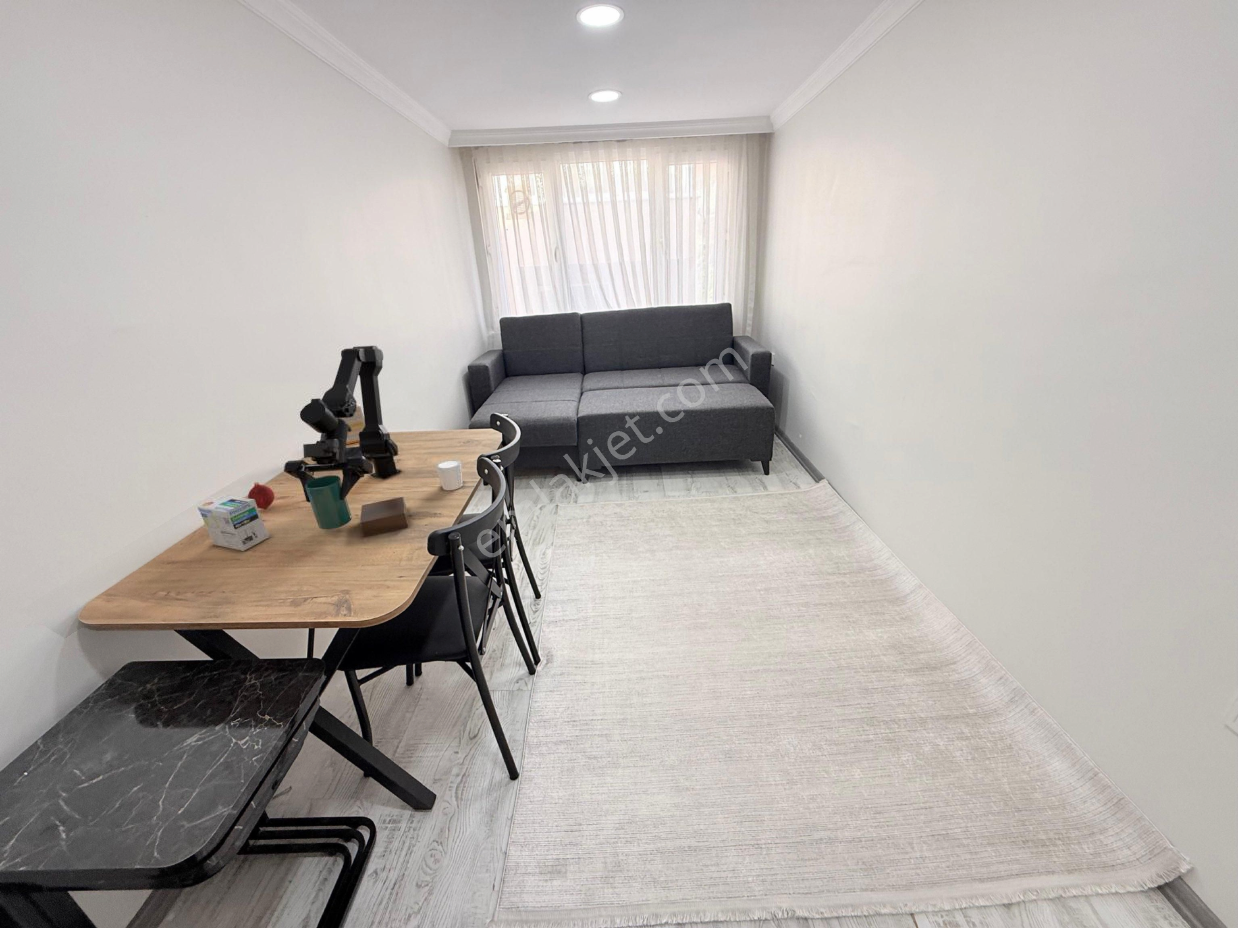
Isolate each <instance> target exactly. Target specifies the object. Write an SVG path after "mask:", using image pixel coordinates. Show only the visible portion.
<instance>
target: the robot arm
mask: <svg viewBox="0 0 1238 928" xmlns="http://www.w3.org/2000/svg"><path fill="white" fill-rule="evenodd" d="M340 357H341V359H340V361H339V365H338V368H337V372H336V375H335V378H334V382H333V385H332V387H331V388H328V389H327V390H326V391H325V392H324V394H323V396H322V398H319V397H318V398H311V399H310V402H309V403H307V404H306V405H305V406H303V408H302V409H301V410H300V412H299V418H300V420H301V422H304V423H305V424H306V425H307V426H309V427H310V428H311V429H312V430H313V431H315V432H316V433H319V434H320V438H319V440H316V442H315V443H304V444H302V448H303V449H302V451H303V458H304V459H307V458H310V460H311V461H312V462H314V463H311V464H310V463H308V462H307V461H305V460H304V459H296V460H287V461H286V462H285V463H284V467H283V472H284V473H286V474H288V475H290V476H291V477H293V478H295V479H298V480H299V481H300V483H301V486H302V490H303V494H304V498H305V501H306V502H307V503H310V500H309V497H308V494H307V491H306V488H305V485H306V483H307V482H309V481H311V480H313V479H315V478H316V477H314V475H315V473H321V472H337V471H341V473H342V479H341V482H342V486H341V492H340V499H341V500H344V499H345V498H346V499H347V496H348V495H349V493H351V490H352V489H353V488H354V486H355V485H356V484H357V483H358V482H359V480H360V479H362V478H365V475H370V476H371V477H373V478H377V479H381V480H386V479H389V478H391V477H393V476H396V475H398V474H401V472H402V470H401V469H398V468H397V466H396V465H397V464H396V462H395V459H394V458H395V457H397V456H399V448H398V447H399V446H398V445H397V444H396V442H394V440H393V439H391V434H390V431H388V429H387V428H386V427H385V426H384V423H383V413H382V405H381V394H380V386H379V375H380V373H381V371H382V369H383V367H384V366H383V365H384V364H383V361H384V353H383V350H382V349H381V348H379V347H378V346H377V345H360V346H359V345H358V346H353V347H352V348H351V347H349V348H344V349H342V350H341V351H340ZM358 377H359V384H360V393H361V402H362V403H361V404H362V413H363V416H364V421H365V426H364V428H363V430H362V431H360V432H359V439H360V442H358V446H359V448H360V450H361V452H362V454H363V456H364V457H363V456H355V457H348V458H347V460H346V462H344V457H345V453H346V452H348V448H349V447H347V444H346V441H347V433H348V432H351V431H352V430H351V427H350V426H349V425H348V423H347V422H345V421H344V420H342V419H339V418H350V417H353V416H354V414H355V412H356V408H357V405H356V404H358V403H357V400H356V397H355V396H354V393H355V389H356V385H357V382H358ZM367 459H372V460H367ZM315 462H316V463H315Z"/></svg>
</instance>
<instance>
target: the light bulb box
mask: <svg viewBox="0 0 1238 928" xmlns="http://www.w3.org/2000/svg"><path fill="white" fill-rule="evenodd" d="M196 508H197V509H198V512H199V514H200V516H201V518H202V521H203V523H204V525H205V527H206V531H207V532H208V534H209V536H210V538H211V542H212V543H213V545H214V546H220V547H222V548H223V547H224V548H227V549H232V550H237V551H242V552H245V551H246V550H249V549H250V548H252V547H254V546H256V545H257V544H259V543H261V542H263V541H265V540H267V539H268V538H270V535H269V533H268V530H267V528H266V526H265V523H264V520H263V518H262V515H261V512H260V509H259V508H258V507H257V505H256V502H255V499H249V498H248V497H240V496H233V495H228V494H223V495H221V496H218V497H215V498H212V499H211V500H209V501H206V502H204V503H201V504H199V505H197V507H196Z"/></svg>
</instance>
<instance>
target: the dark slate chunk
mask: <svg viewBox="0 0 1238 928" xmlns="http://www.w3.org/2000/svg"><path fill="white" fill-rule="evenodd" d="M347 448H348V452H346V453H345V457H344V462H346V460H347V458H348V457H355V456H363V454H362V452H361V450H360V448H359V445H358V446H351V447H347ZM363 457H364V456H363ZM367 460H368V461H372V459H367Z"/></svg>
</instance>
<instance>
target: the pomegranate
mask: <svg viewBox="0 0 1238 928" xmlns="http://www.w3.org/2000/svg"><path fill="white" fill-rule="evenodd" d="M247 498H249V499H255V502H256V505H257V507H258V509H262V510H266V509H268V508H269V507H270V506H271V505H272V504H273V503H274V500H275V492H274V491H273V489H272V488H270V487H269V486H267V485H265V484H260V483H259V482H258V481H254V484H253V487H252V488H250V490H249V492H248V494H247Z"/></svg>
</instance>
